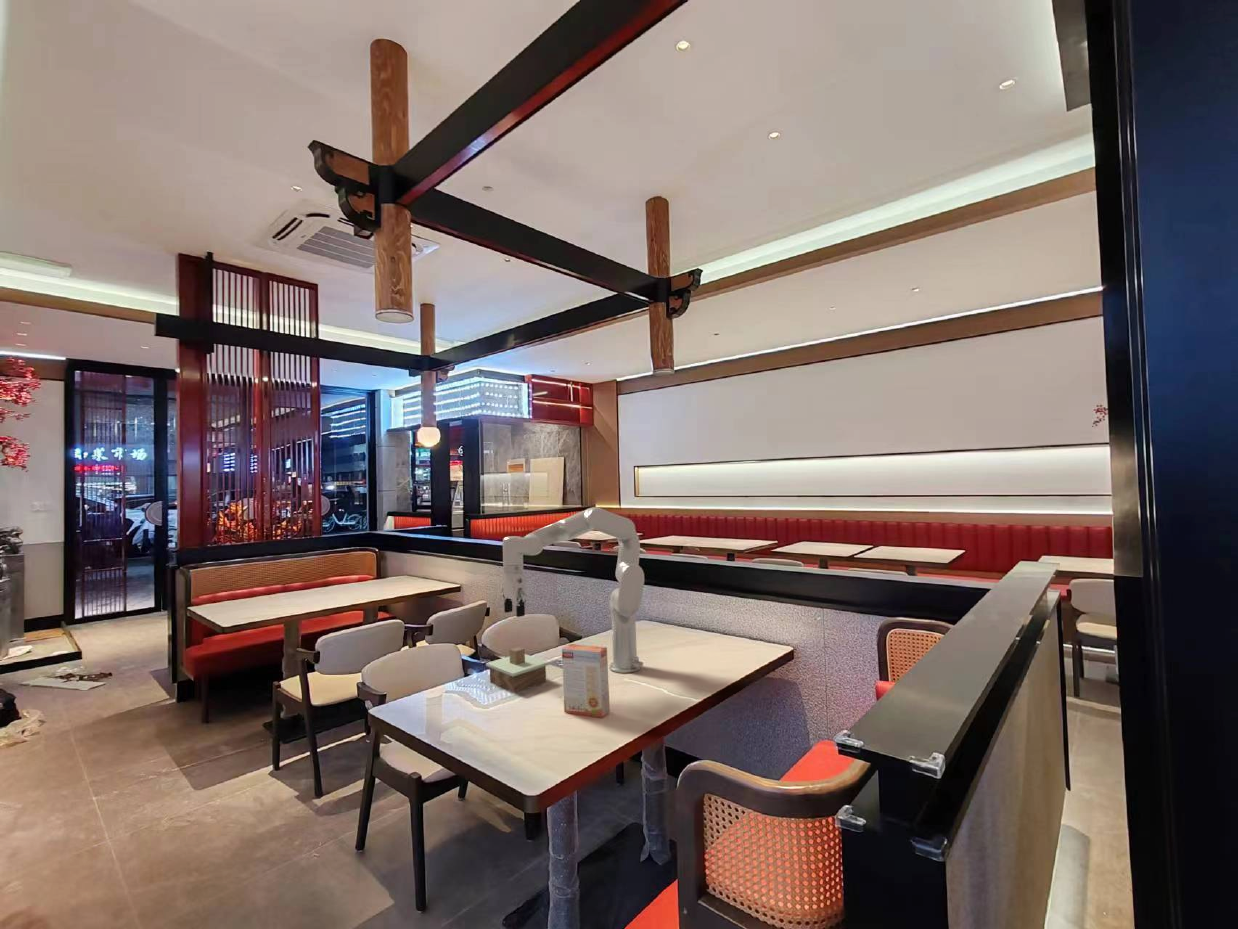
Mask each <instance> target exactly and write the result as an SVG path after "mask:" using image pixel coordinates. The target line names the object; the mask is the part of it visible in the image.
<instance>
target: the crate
mask: <svg viewBox="0 0 1238 929" xmlns="http://www.w3.org/2000/svg"><path fill="white" fill-rule="evenodd" d="M546 667H547V666H544V667H541V668H538V669H535V670H532V671H528V672H525V673H522V674H519V675H516V676H510V675H508V674H505V673H503V672H500V671H498V670H495V669H493V668H490V667H489V683H491V684H493V685H495V686H498V687H500V688H502V689H505V690H506V691H509V692H512V693H514V694H515V693H518V692H521V691H524V690H527V689H529V688H531V687H532V688H533V687H535V686H538V685H540V684H543V683H547V672H546V669H547V668H546Z"/></svg>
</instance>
